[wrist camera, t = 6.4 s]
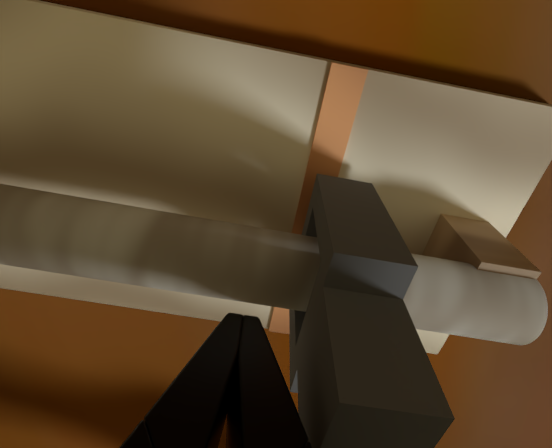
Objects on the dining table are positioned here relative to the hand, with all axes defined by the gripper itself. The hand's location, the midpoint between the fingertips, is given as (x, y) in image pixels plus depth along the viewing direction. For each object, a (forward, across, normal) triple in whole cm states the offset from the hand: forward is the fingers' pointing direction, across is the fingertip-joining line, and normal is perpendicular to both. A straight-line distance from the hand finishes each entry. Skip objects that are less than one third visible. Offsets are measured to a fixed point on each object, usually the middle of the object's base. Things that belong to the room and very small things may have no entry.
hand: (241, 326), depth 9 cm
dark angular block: (+5, -3, 0) cm, 6 cm away
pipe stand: (+8, +3, 0) cm, 8 cm away
